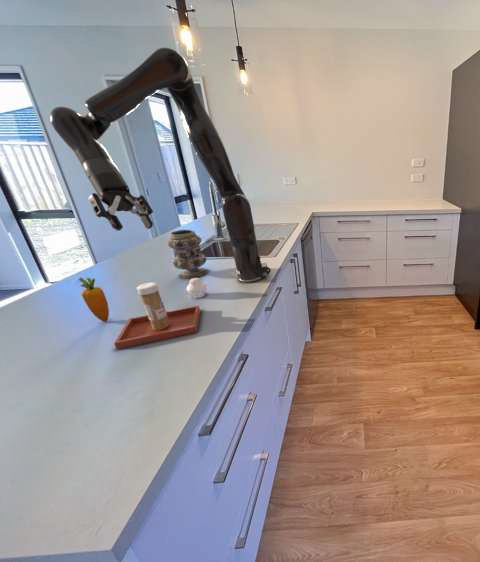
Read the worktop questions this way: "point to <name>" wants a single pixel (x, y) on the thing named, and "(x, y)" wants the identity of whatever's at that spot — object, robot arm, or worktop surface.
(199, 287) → the white rounded lump
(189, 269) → the ornate carved vase
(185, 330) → the tray
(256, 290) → the worktop surface
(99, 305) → the carrot
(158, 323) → the sprinkles bottle
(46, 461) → the worktop surface
